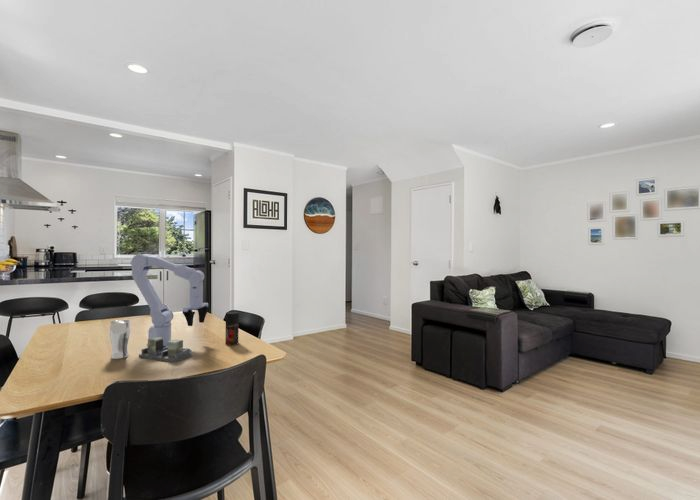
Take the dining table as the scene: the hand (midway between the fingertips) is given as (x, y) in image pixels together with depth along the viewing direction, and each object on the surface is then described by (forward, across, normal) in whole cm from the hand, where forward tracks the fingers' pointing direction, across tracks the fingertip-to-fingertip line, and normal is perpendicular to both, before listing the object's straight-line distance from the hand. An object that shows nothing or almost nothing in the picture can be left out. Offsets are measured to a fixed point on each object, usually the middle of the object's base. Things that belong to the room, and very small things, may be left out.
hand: (195, 324), depth 166 cm
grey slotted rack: (+9, -20, -2) cm, 22 cm away
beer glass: (+10, -27, +15) cm, 32 cm away
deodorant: (+10, +6, -16) cm, 20 cm away
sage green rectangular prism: (+8, -20, -7) cm, 23 cm away
